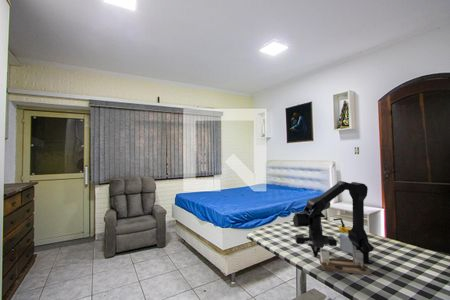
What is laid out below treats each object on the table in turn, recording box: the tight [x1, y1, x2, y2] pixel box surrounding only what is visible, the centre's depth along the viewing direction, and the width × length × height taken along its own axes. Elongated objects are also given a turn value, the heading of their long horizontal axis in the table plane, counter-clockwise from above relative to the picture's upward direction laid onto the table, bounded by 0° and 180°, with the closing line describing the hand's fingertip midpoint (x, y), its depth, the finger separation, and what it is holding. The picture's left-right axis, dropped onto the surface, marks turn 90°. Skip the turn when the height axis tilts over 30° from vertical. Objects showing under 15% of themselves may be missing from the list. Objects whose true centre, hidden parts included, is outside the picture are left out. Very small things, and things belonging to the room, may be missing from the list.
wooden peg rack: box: [318, 250, 372, 275], centre depth 104 cm, size 9×20×7 cm, turn 80°
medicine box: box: [339, 232, 356, 255], centre depth 121 cm, size 8×4×9 cm, turn 27°
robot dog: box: [333, 217, 352, 234], centre depth 134 cm, size 6×18×13 cm, turn 29°
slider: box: [320, 247, 330, 266], centre depth 106 cm, size 7×3×6 cm, turn 170°
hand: (315, 257), depth 108 cm, fingers closed
